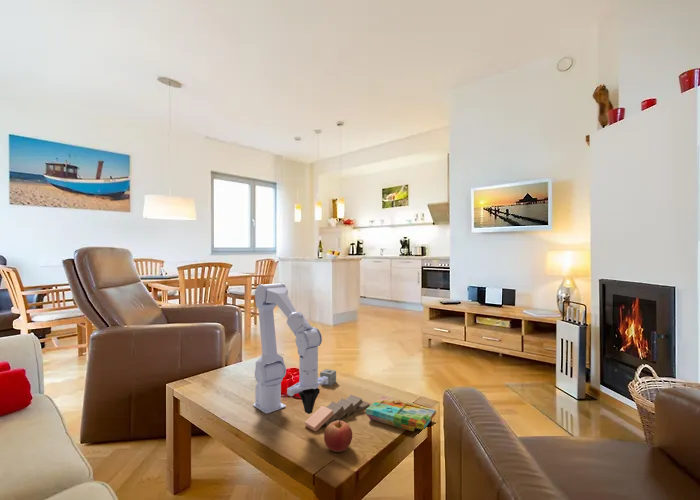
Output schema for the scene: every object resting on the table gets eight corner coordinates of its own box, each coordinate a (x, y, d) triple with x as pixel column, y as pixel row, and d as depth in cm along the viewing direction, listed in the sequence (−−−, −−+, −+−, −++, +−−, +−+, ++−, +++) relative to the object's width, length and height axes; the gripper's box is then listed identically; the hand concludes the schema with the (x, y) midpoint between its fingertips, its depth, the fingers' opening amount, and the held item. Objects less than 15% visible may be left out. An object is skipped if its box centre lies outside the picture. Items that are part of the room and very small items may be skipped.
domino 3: (336, 417, 111) (352, 402, 116) (325, 412, 115) (342, 398, 120) (337, 422, 111) (353, 406, 117) (327, 416, 115) (343, 402, 120)
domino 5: (354, 411, 117) (369, 403, 123) (344, 406, 121) (359, 399, 126) (354, 415, 117) (369, 408, 123) (344, 410, 121) (359, 403, 126)
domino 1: (314, 427, 105) (332, 410, 110) (304, 421, 108) (322, 405, 114) (315, 431, 105) (333, 414, 110) (305, 426, 109) (323, 409, 114)
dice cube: (330, 386, 141) (330, 374, 141) (320, 384, 143) (320, 372, 144) (336, 382, 146) (336, 370, 146) (325, 380, 148) (325, 368, 148)
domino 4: (346, 412, 115) (361, 398, 121) (336, 407, 118) (351, 394, 124) (347, 416, 115) (362, 402, 121) (337, 411, 119) (352, 398, 124)
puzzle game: (381, 394, 123) (436, 407, 112) (381, 407, 123) (436, 421, 112) (365, 406, 113) (424, 422, 102) (365, 420, 113) (424, 438, 102)
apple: (355, 442, 99) (355, 415, 99) (348, 458, 91) (348, 428, 91) (329, 439, 101) (328, 412, 101) (320, 454, 93) (320, 425, 93)
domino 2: (325, 422, 108) (342, 406, 113) (315, 417, 111) (332, 401, 117) (327, 426, 108) (344, 410, 114) (316, 421, 112) (333, 405, 117)
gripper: (297, 377, 99) (296, 425, 98) (334, 366, 109) (334, 409, 109) (283, 371, 104) (283, 416, 104) (320, 361, 114) (320, 402, 114)
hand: (308, 412), depth 106 cm, fingers closed
